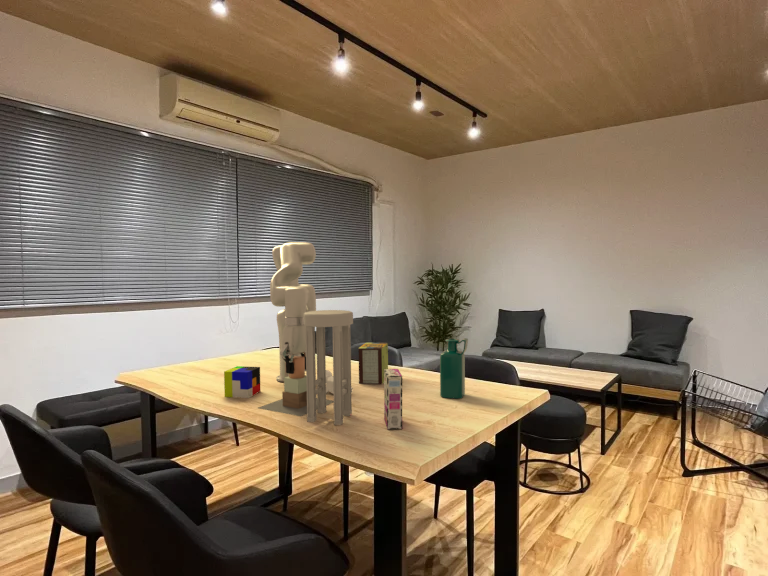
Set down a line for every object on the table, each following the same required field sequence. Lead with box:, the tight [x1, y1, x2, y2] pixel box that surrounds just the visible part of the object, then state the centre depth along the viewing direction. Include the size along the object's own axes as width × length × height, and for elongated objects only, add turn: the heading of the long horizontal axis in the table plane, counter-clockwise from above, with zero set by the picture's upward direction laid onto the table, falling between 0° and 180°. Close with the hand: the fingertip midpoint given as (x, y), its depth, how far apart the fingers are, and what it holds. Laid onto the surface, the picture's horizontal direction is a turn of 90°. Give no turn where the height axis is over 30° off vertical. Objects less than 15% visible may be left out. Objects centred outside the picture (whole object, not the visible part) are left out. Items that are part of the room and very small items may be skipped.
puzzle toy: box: [223, 365, 261, 399], centre depth 182 cm, size 10×10×10 cm
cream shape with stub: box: [326, 369, 354, 395], centre depth 182 cm, size 9×8×15 cm
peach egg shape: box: [289, 356, 306, 379], centre depth 165 cm, size 6×6×7 cm
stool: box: [304, 309, 354, 426], centre depth 150 cm, size 16×16×35 cm
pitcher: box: [439, 337, 469, 400], centre depth 175 cm, size 10×8×22 cm
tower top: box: [283, 374, 307, 394], centre depth 165 cm, size 6×6×5 cm
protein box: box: [357, 342, 389, 385], centre depth 203 cm, size 10×15×16 cm
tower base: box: [281, 390, 307, 409], centre depth 166 cm, size 8×8×5 cm
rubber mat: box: [257, 397, 334, 417], centre depth 166 cm, size 20×20×1 cm
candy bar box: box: [383, 368, 403, 430], centre depth 144 cm, size 11×5×16 cm, turn 5°
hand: (297, 370), depth 165 cm, fingers open, 6 cm apart
